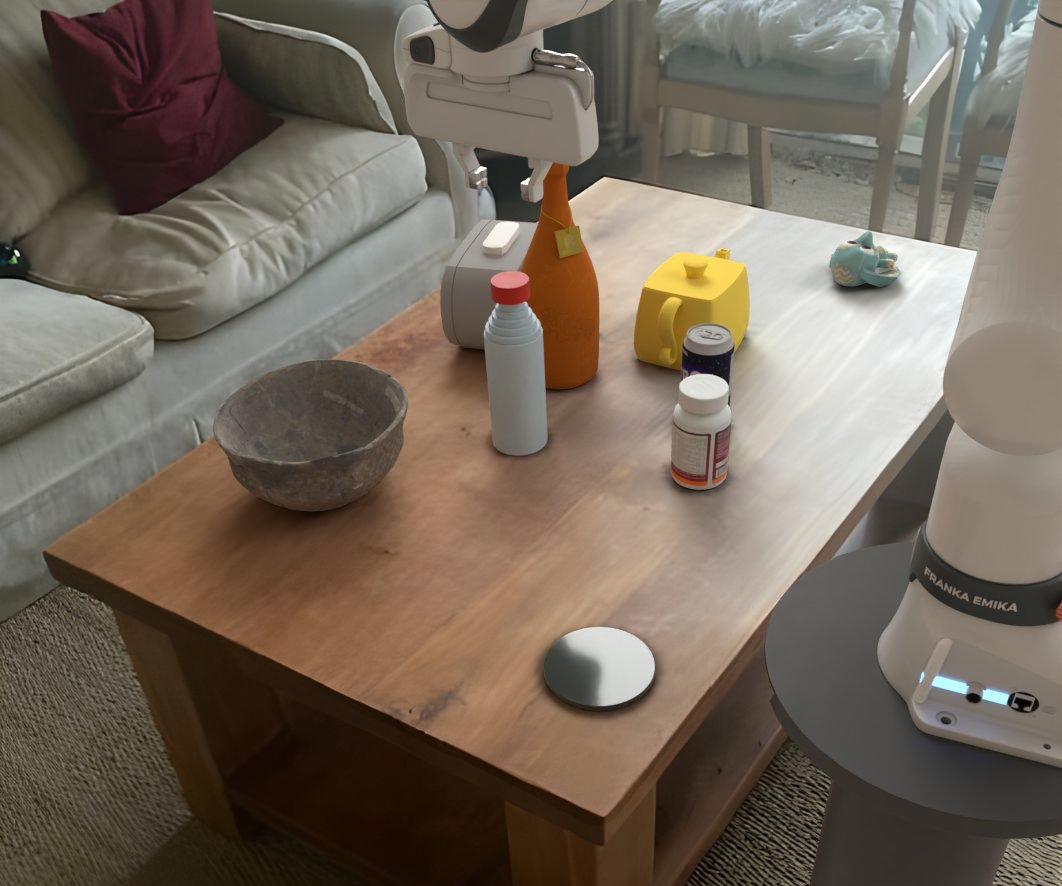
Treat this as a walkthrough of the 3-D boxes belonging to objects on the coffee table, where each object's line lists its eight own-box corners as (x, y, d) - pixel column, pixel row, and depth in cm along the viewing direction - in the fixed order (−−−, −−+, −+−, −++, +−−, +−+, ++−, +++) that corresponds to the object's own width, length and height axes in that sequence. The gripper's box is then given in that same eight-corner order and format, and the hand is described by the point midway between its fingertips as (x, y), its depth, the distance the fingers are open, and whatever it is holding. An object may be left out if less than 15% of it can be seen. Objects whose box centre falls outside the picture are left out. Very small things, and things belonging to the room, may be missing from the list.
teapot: (681, 301, 151) (685, 218, 144) (766, 318, 146) (775, 234, 139) (617, 368, 138) (617, 281, 131) (708, 390, 134) (714, 301, 126)
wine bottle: (515, 391, 135) (499, 146, 116) (529, 352, 143) (516, 114, 123) (594, 396, 134) (591, 147, 114) (604, 355, 141) (603, 115, 121)
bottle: (558, 434, 128) (552, 277, 115) (527, 461, 124) (518, 302, 111) (513, 419, 131) (502, 264, 118) (481, 445, 127) (467, 288, 114)
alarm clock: (493, 291, 156) (485, 199, 147) (557, 297, 154) (554, 204, 145) (444, 363, 141) (433, 265, 133) (515, 371, 139) (508, 272, 130)
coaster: (675, 656, 99) (675, 651, 99) (619, 727, 93) (619, 722, 93) (581, 617, 104) (581, 612, 103) (522, 683, 98) (521, 678, 97)
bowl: (270, 428, 132) (252, 354, 125) (436, 436, 129) (427, 361, 122) (203, 535, 116) (179, 457, 110) (391, 548, 113) (377, 468, 107)
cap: (537, 292, 116) (536, 276, 114) (515, 308, 113) (514, 291, 112) (506, 284, 118) (504, 267, 116) (484, 299, 115) (482, 283, 114)
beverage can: (688, 409, 130) (693, 317, 123) (734, 419, 128) (742, 326, 121) (671, 433, 127) (675, 340, 119) (718, 444, 125) (725, 350, 117)
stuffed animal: (931, 236, 151) (881, 247, 144) (916, 287, 155) (866, 300, 148) (866, 215, 157) (815, 224, 150) (853, 264, 161) (803, 275, 154)
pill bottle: (716, 455, 123) (722, 367, 116) (734, 487, 118) (742, 396, 111) (663, 464, 122) (666, 375, 115) (679, 496, 118) (684, 405, 110)
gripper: (611, 47, 97) (611, 201, 106) (428, 22, 106) (442, 165, 115) (573, 67, 93) (576, 225, 102) (386, 39, 102) (405, 186, 111)
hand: (504, 193), depth 108 cm, fingers open, 5 cm apart
